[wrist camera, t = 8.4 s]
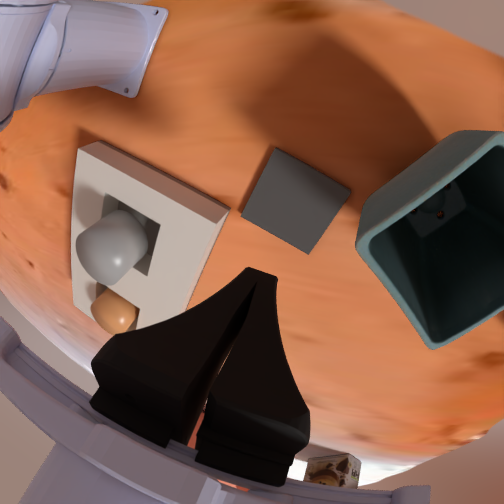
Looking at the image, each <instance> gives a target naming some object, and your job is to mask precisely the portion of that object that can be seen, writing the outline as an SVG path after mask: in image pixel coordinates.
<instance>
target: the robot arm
mask: <svg viewBox="0 0 504 504" xmlns="http://www.w3.org/2000/svg"><path fill="white" fill-rule="evenodd" d="M157 11H158V14H157V15H156V12H157ZM167 16H168V10H167V9H165V8H161V7H154V6H147V5H140V4H131V3H120V2H104V1H93V0H0V132H1V131H2V130H3V129H5V128H6V127H7V125H8V124H9V123H10V121H11V119H12V117H13V113H14V111H16V110H20V109H23V108H27V107H28V105H29V102H30V100H31V99H32V98H33V97H35V96H39V95H44V94H48V93H53V92H59V91H64V90H70V89H76V88H83V87H90V86H98V87H101V88H104V89H107V90H110V91H113V92H116V93H118V94H121V95H124V96H126V97H129V98H134V97H136V96H137V94H138V91H139V88H140V85H141V82H142V79H143V76H144V73H145V70H146V67H147V65H148V62H149V59H150V57H151V54H152V51H153V49H154V46H155V44H156V41H157V39H158V37H159V34H160V32H161V29H162V27H163V25H164V23H165V20H166V18H167ZM127 89H129V92H127ZM277 282H278V278H277V277H276V276H274V275H271V274H268V273H265V272H262V271H259V270H256V269H254V268H251V267H247V268H245V269H244V270H243V271H242V272H241V273H240V274H239V275H238V276H237V277H236V278H235V279H233V280H232V281H231V282H230V283H229V284H227V285H226V286H225V287H223V288H222V289H221V290H219V291H218V292H217V293H215V294H214V295H212V296H211V297H209V298H208V299H206V300H205V301H203V302H201V303H200V304H198V305H196V306H194V307H193V308H191V309H189V310H187V311H185V312H183V313H181V314H179V315H176V316H174V317H172V318H170V319H167V320H165V321H162V322H159V323H156V324H153V325H150V326H147V327H144V328H140V329H137V330H132V331H128V332H123V333H118V334H115V335H114V336H113V337H112V338H111V339H110V340H109V341H107V342H106V344H105V345H104V346H103V347H102V348H101V349H100V351H99V352H98V353H97V354H96V356H95V357H94V358H93V359H92V361H91V367H92V371H93V373H94V375H95V378H96V380H97V382H98V384H99V386H100V387H99V388H98V390H97V391H96V393H95V394H94V395H93V396H91V395H90V394H88V393H87V392H85V391H84V390H82V389H81V388H79V387H78V386H76V385H75V384H73V383H72V382H71V381H69V380H68V379H66V378H65V377H64V376H62V375H61V374H59V373H58V372H57V371H56V370H54V369H53V368H52V367H51V366H49V365H48V364H47V363H46V362H44V361H43V360H42V359H41V358H39V357H38V356H37V355H36V354H35V353H33V352H32V351H31V350H30V349H29V348H28V347H26V346H25V345H24V344H23V343H22V342H21V339H20V337H19V335H18V334H17V332H16V331H15V330H14V328H12V326H11V325H10V324H8V323H7V322H6V321H5V320H4V319H3V318H2V317H1V316H0V391H1V392H2V393H3V394H4V395H5V396H6V397H7V398H8V399H9V400H10V401H11V402H12V403H13V404H14V405H15V406H16V407H17V408H18V409H19V410H20V411H21V412H22V413H23V414H24V415H25V416H26V417H27V418H28V419H29V420H31V421H32V422H33V423H34V424H35V425H36V426H37V427H38V428H40V429H41V430H42V431H43V432H44V433H45V434H47V435H48V436H49V437H50V438H52V439H53V440H54V441H55V442H57V443H56V444H55V446H54V447H53V449H52V450H51V452H50V453H49V455H48V456H47V458H46V460H45V461H44V463H43V464H42V466H41V467H40V469H39V470H38V472H37V474H36V475H35V477H34V478H33V480H32V482H31V483H30V485H29V487H28V488H27V490H26V492H25V493H24V495H23V497H22V498H21V500H20V502H19V503H18V504H429V503H430V489H431V487H430V485H414V486H413V485H411V486H403V487H400V488H397V489H395V490H394V491H383V490H365V489H354V488H344V487H336V486H329V485H322V484H316V483H310V482H304V481H299V480H294V479H290V478H287V474H288V471H289V467H290V466H291V465H292V464H293V460H294V457H295V454H297V453H298V452H299V451H301V450H302V449H303V448H305V447H306V446H307V444H308V443H309V438H310V411H309V409H308V407H307V405H306V404H305V402H304V400H303V398H302V396H301V394H300V392H299V390H298V387H297V385H296V383H295V381H294V378H293V375H292V373H291V370H290V367H289V364H288V362H287V359H286V355H285V352H284V348H283V344H282V340H281V335H280V330H279V324H278V316H277V304H276V289H277ZM231 348H232V349H231ZM230 350H231V351H230ZM229 352H230V353H229ZM228 354H229V355H228ZM227 356H228V357H227ZM226 357H227V359H226ZM225 359H226V361H225ZM224 361H225V363H224ZM223 363H224V364H223ZM222 365H223V366H222ZM221 367H222V368H221ZM220 369H221V370H220ZM219 371H220V372H219ZM218 373H219V374H218ZM207 398H208V399H207ZM206 400H207V404H206V408H205V413H204V418H203V420H202V423H201V425H200V427H199V429H198V431H197V434H196V436H197V437H196V443H195V449H193V448H190V447H188V446H187V445H188V443H189V440H190V438H191V436H192V433H193V431H194V429H195V426H196V424H197V421H198V419H199V417H200V414H201V412H202V410H203V407H204V405H205V403H206ZM217 479H218V480H221V481H224V482H227V483H231V484H234V485H237V486H240V487H244V488H247V489H250V490H248V492H245V491H242V490H239V489H237V488H234V487H231V486H228V485H226V484H223V483H221V482H219V481H218V480H217Z"/></svg>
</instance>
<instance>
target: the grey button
mask: <svg viewBox="0 0 504 504" xmlns="http://www.w3.org/2000/svg"><path fill="white" fill-rule="evenodd" d="M75 246H76V253H77V256H78V259H79V261H80V263H81V265H82V266H83V268H84V269H85V271H86V272H87V273H88V274H89V275H90V276H91V277H92V278H93V279H94V280H96V281H97V282H99V283H101V284H103V285H107V286H111V285H114V284H116V283H117V282H118V281H119V280H120V279H121V278H122V277H123V276H124V275H125V274H126V273H127V272H128V271H129V270H130V269H131V268H132V267H133V266H134V265H135V264H136V263H137V262H138V261H139V260H140V259H141V258H142V257H143V256H144V255H145V254H146V252H147V249H148V239H147V235H146V232H145V230H144V228H143V226H142V225H141V223H140V222H139V221H138V220H137V219H136V218H135V217H134V216H133V215H132V214H130V213H128V212H126V211H123V210H115V211H112V212H111V213H109V214H108V215H106V216H105V217H103V218H102V219H100V220H99V221H97V222H96V223H94V224H93V225H92V226H90V227H89V228H87V229H86V230H84V231H83V232H82V233H80V234H79V235H78V237H77V239H76V244H75Z"/></svg>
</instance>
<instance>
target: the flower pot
mask: <svg viewBox="0 0 504 504" xmlns="http://www.w3.org/2000/svg"><path fill="white" fill-rule="evenodd" d="M448 183H449V187H448V188H444V186H446V185H447V184H448ZM415 208H417V210H416V212H414V213H413V212H411V211H412V210H413V209H415ZM440 211H442V212H443V216H442V217H438V216H437V214H438V212H440ZM355 248H356V251H357V252H358V254H359V255H360V257H361V258H362V259H363V261H365V263H366V264H367V265H368V266H369V268H370V269H371V270H372V271H373V272H374V274H375V275H376V276H377V278H378V279H379V280H380V281H381V282H382V284H383V285H384V287H385V288H386V289H387V290H388V292H389V293H390V295H391V296H392V297H393V299H394V300H395V301H396V302H397V304H398V305H399V306H400V308H401V309H402V311H403V312H404V314H405V315H406V316H407V318H408V319H409V321H410V322H411V324H412V325H413V327H414V328H415V329H416V331H417V332H418V334H419V335H420V337H421V339H422V340H423V341H424V343H425V345H426V346H427V347H428V348H429V349H431V350H435V349H437V348H440V347H442V346H445V345H447V344H449V343H451V342H452V341H454V340H456V339H458V338H460V337H461V336H463V335H464V334H466V333H468V332H470V331H471V330H472V329H474V328H476V327H477V326H479V325H481V324H482V323H484V322H485V321H487V320H488V319H490V318H492V317H493V316H495V315H496V314H498V313H499V312H501V311H502V310H504V132H502V131H481V130H463V131H458V132H455V133H452V134H451V135H449V136H447V137H446V138H444V139H443V140H442V141H440V142H439V143H438V144H437V145H435V146H434V147H433V148H432V149H430V150H429V151H428V152H427V153H425V154H424V155H423V156H421V157H420V158H419V159H418V160H416V161H415V162H414V163H412V164H411V165H410V166H409V167H407V168H406V169H405V170H403V171H402V172H401V173H399V174H398V175H397V176H395V177H394V178H393V179H391V180H390V181H389V182H387V183H386V184H384V185H383V186H382V187H380V188H379V189H378V190H376V191H375V192H374V193H373V194H371V195H370V196H369V197H368V199H367V200H366V201H365V203H364V205H363V208H362V212H361V217H360V222H359V227H358V231H357V237H356V241H355Z"/></svg>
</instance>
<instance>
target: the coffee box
mask: <svg viewBox="0 0 504 504" xmlns="http://www.w3.org/2000/svg"><path fill="white" fill-rule="evenodd" d="M360 469H361V462H360V461H359V460H357V459H356V458H355V457H353V456H352V455H350V454H344V455H337V456H329V457H319V458H309V459H308V464H307V468H306V472H305V476H304V480H303V481H304V482H310V483H316V484H322V485H329V486H336V487H344V488H354V489H357V487H358V481H359V475H360Z"/></svg>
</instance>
